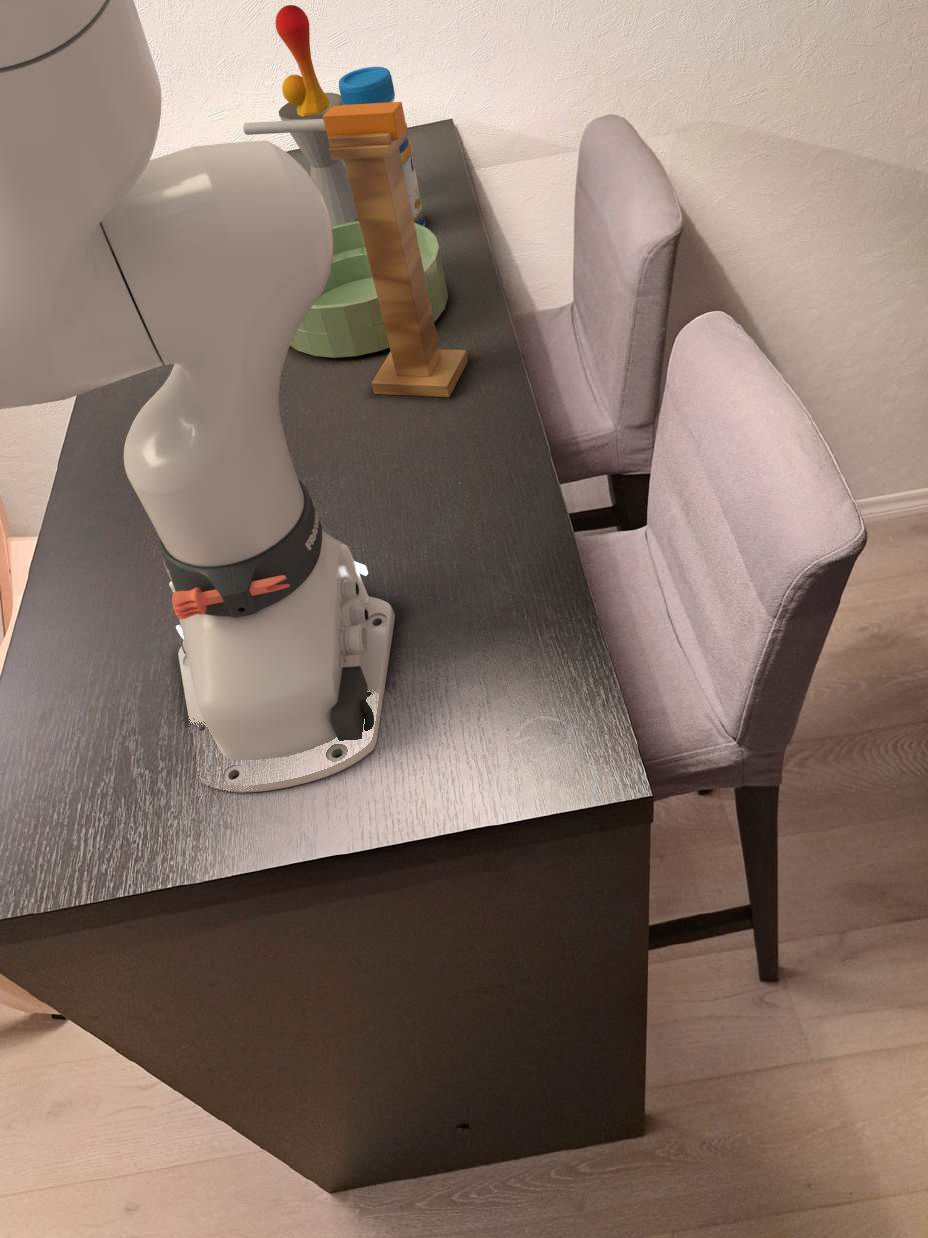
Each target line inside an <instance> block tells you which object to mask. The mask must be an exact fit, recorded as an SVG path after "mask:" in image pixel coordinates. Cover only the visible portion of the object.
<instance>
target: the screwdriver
mask: <svg viewBox="0 0 928 1238" xmlns="http://www.w3.org/2000/svg"><path fill="white" fill-rule="evenodd" d="M406 124H407V122H406V117H405V111H404V106H403V102H402V101H393V102H388V103H372V104H355V105H338V106H332V107H331V108H330V109H329V110H328V111H327V112H326V113H325V114H324V115H323V119H310V120H292V121H282V120H277V121H259V122H258V121H257V122H245V123H244V124H243V125H242V126H243V127H242V128H243V129H242V131H243V133H244V134H245V135H247V136H251V135H270V134H290V133H293V132H313V131H326V132H327V136H328V138H329V137H330V136H337V135H358V134H378V133H390V134H391V139H392V140H398V139H399V138H400V137H401V136H402V135H403V133H404V132H405V131H406V130H407V128H408V126H407V127H406Z"/></svg>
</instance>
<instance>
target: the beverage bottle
mask: <svg viewBox="0 0 928 1238" xmlns="http://www.w3.org/2000/svg"><path fill="white" fill-rule="evenodd" d="M338 90H339V95H341V99H342V102H343V105H355V104H372V103H388V102H395V99H396V98H395V95H396V93H395V87H394V83H393V76H392V74H391V71H390V70H389V68H387V67H384V66H383V67H382V66H368V67H367V66H366V67H362V68H359V69H355V70H352V71H350V72H347V73H346V74H344V75H343V76H341V77H340V78H339V80H338ZM399 149H400V154H401V159H402V164H403V169H404V174H405V179H406V184H407V189H408V194H409V199H410V204H411V209H412V214H413V219H414V223H417V224H419V225H421V226H424V227H425V226H426V219H425V213H424V211H423V205H422V200H421V198H422V197H421V194H420V189H419V184H418V183H419V182H418V179H417V171H416V166H415V161H414V150H413V145H412V142H411V140H410V139H409V138H408V137H407V138H406V139H405V140H404V142H403V143H402V144H401V145H400V147H399Z"/></svg>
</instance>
